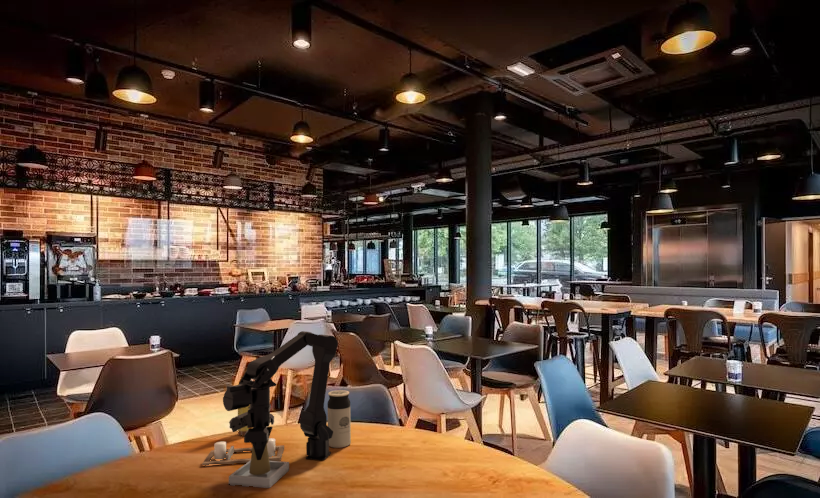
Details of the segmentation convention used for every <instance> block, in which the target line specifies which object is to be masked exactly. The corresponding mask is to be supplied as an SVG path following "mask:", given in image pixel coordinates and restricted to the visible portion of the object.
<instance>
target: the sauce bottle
mask: <svg viewBox="0 0 820 498" xmlns="http://www.w3.org/2000/svg"><path fill="white" fill-rule="evenodd" d="M251 381H253V379H251ZM249 408H250V405H249V406H248V407H244V408H240V409H237V416H238V415H241V414H243V413H246V412H248V410H249ZM252 428H253V427H252ZM249 429H250V428H247V426H246V427H243V428H241V429H238V430H237V435H238V434H239V435H238V436H240V435H243V436H242V437H244V435H245V433H246V432H247V431H248V430H249ZM238 431H239V432H238Z"/></svg>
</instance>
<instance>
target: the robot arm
mask: <svg viewBox="0 0 820 498" xmlns="http://www.w3.org/2000/svg"><path fill="white" fill-rule="evenodd" d="M308 346H309V347H311V348H312V349H311V351H312V355H313V358H314V367H313V372H312V373H313V374H312V379H311V385H310V386H311V388H310V393H309V394H310V395H309V399H308V405H307V407H306V408H305V410H301V411H300V417H299V421H298V424H299V427H300V429H301V430H302V432H303V434H304V437H307V441H306V445H305V446H306V447H305V448H306V450H305V451H306V453H305V455H306V456H305V459H306V460H315V461H325V460H326V459H327V458H328V457H329V456H330V455H331V454H332V451H330V446H329V439H330V438H332V435H333V431H332V430H331V429H330V428H329V427H328V415H327V414H326V413H327V412H326V411H325V399H326V393H327V385H328V380H329V379H328V378H329V370H330V366H331V365H330V364H331V362H332V360H333V359H334V358H335V356H336V353H337V350H338V347H339V341H338V340H337V338H336V337H335V336H333V335H330V334H329V335H328V334H316V333H314V332H311V331H304V330H303V331H300V332H298V333H297V335H295V336H293V337H292V338H291V339H290V340H288V341H287V342H285V343H284V344H282V345H281V346H280V347H278V348H277V349H275V350H274V351H272V352H271V353H268V354H266V355H263V356H260V357H258V358H256V359H253V360H251V361H250V362H249V363H248V364H247V367H246V370H245V372H244V373H243V376H241V379H240V381H239V382H238V384H235V385H227V386H226V390H225V392H224V394H223V397H222V403H223V406H224V409H225V410H226V411H227V412H231V411H235V410H238V409H240V408H244V407H248V406H249V405H250V408H249V410H248V412H246V413H243V414H241V415H238V414H237V415H236V416H233V417H232V418H231V419H230V420H229V422H228V423H229V429H231V430H232V433H235V432H238V429H241V428H243V427H246V426H247V428H250V429H249V430H248V431H247V432H246V433H245V435H244V436H243V443H245V444H248V443H249V444H251V443H252V444H253V445H252V444H251V445H252V447H254V451H255V454H256V458H257V460H261V458H262V455H263V452H264V449H265V447H266V444H267V441H268V438H270V436H271V433H272V430H273V426H272V425H274V424H275V415H274V414H272V413H271V408H272V404H271V388H272V387H276V386H277V383H276V382H274V381H273V379H272V378H273V377H274V376H275V374H276V373H278V370H279V368H280V367H281V366H282V365H283V364H284V363H286V362H287V361H288V360H289V359H291V358H292V357H293V356H295V355H296V354H297V353H299V352H300V351H302V350H303V349H304V348H306V347H308ZM251 380H252V381H251ZM270 425H271V426H270ZM252 427H253V428H252Z"/></svg>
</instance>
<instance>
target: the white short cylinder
mask: <svg viewBox="0 0 820 498" xmlns="http://www.w3.org/2000/svg"><path fill="white" fill-rule="evenodd" d="M213 445H214V446H213V447H214V449H213V450H214V457H213V458H215V459H224V458H226V449H227V441H217V442H214V444H213Z"/></svg>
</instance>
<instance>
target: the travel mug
mask: <svg viewBox="0 0 820 498" xmlns="http://www.w3.org/2000/svg"><path fill="white" fill-rule="evenodd" d="M327 394H328V401H327V426H328V427H329V428H330V429H331V430H332V431H333V435H332V438H330V439H329V448H330V447H331V448H334V449H339V448H340V449H341V448H345V447H348V446H349V445H351V443H352V442H351V441H352V439H351V437H352V436H351V428H352V427H351V421H352V420H351V400H350V398H349V396H350V391H348V390H344V389H343V390H342V389H340V390H331V391H329V392H328V393H327Z"/></svg>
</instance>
